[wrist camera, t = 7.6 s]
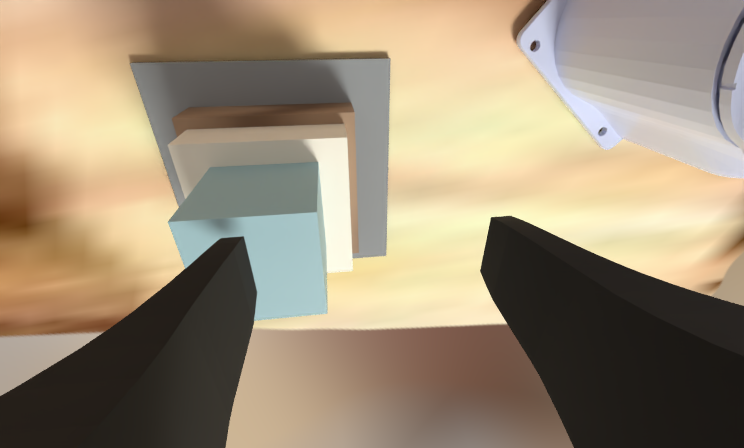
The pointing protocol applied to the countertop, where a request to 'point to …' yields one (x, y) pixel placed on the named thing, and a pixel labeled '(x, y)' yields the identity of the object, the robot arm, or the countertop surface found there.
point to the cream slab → (278, 147)
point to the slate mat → (277, 87)
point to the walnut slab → (281, 117)
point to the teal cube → (263, 231)
